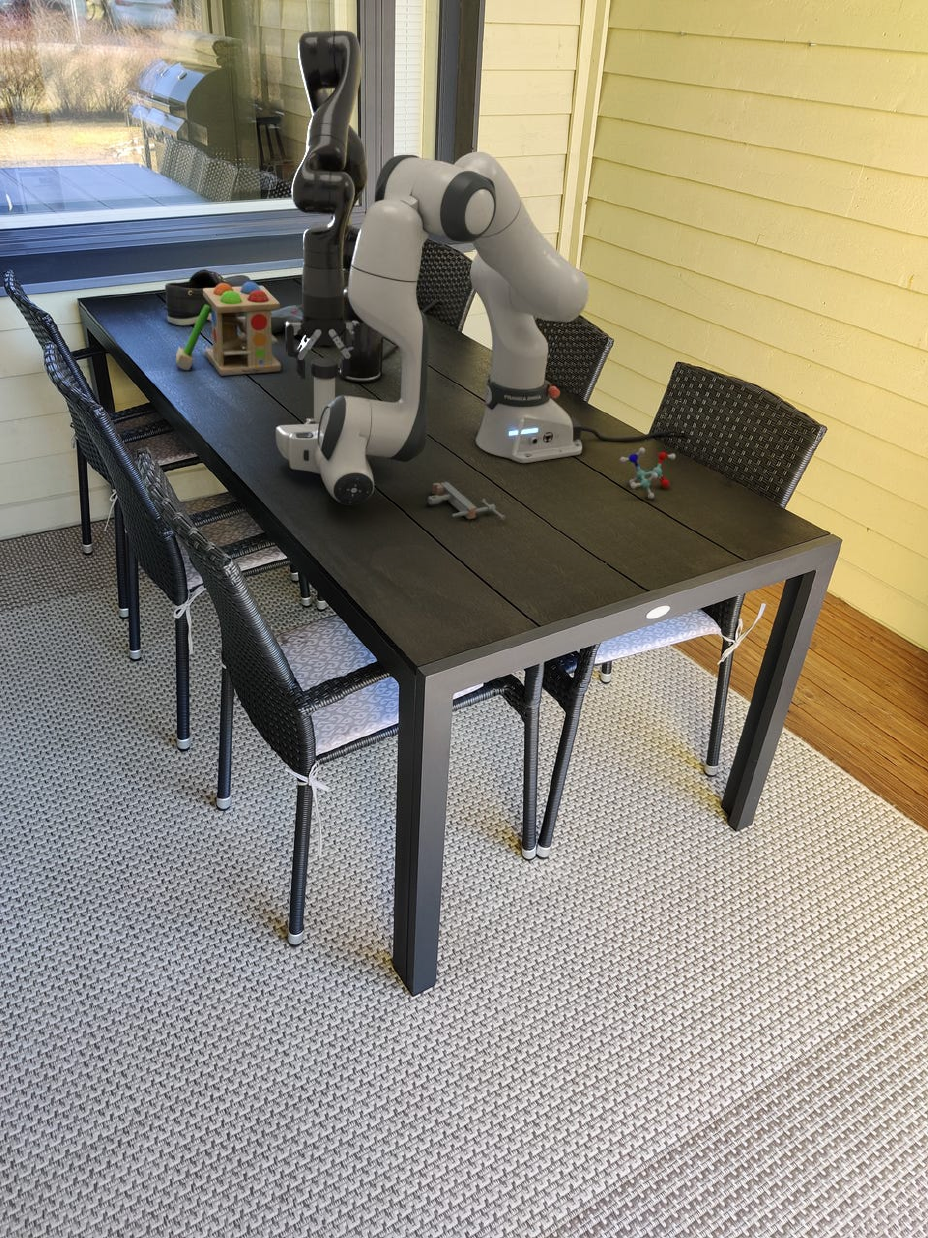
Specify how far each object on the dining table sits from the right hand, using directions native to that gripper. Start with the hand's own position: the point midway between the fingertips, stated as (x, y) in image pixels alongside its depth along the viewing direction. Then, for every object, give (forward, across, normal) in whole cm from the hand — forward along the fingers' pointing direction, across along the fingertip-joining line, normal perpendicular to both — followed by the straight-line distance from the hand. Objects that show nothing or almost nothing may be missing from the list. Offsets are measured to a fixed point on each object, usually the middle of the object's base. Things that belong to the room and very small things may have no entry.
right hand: (323, 421), depth 192 cm
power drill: (+70, -10, +6) cm, 71 cm away
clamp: (-28, -21, +6) cm, 35 cm away
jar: (-1, 0, +6) cm, 7 cm away
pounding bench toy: (+49, +14, +6) cm, 52 cm away
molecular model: (-24, -59, +6) cm, 64 cm away
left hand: (-1, 0, -9) cm, 9 cm away
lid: (-1, 0, -12) cm, 12 cm away
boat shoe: (+91, +14, +6) cm, 92 cm away
